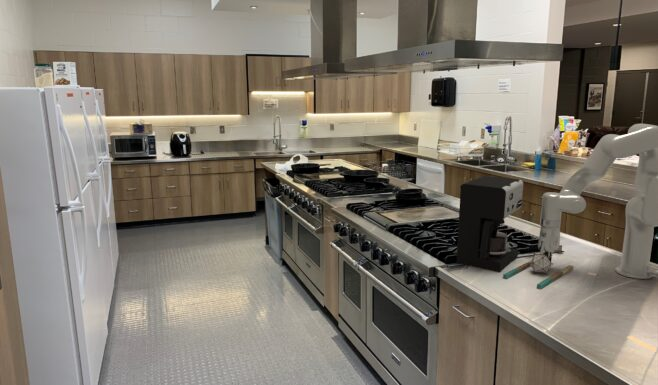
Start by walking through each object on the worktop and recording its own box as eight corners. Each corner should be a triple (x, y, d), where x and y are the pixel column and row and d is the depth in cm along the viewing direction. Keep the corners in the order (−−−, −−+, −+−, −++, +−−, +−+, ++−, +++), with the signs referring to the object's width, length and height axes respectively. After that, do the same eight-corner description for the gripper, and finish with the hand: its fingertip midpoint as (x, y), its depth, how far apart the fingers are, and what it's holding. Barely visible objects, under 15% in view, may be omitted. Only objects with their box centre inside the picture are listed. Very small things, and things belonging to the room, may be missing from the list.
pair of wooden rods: (572, 269, 199) (573, 265, 199) (540, 289, 179) (541, 285, 179) (536, 260, 210) (537, 257, 209) (502, 278, 190) (503, 274, 190)
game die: (540, 279, 197) (554, 259, 198) (546, 280, 189) (560, 259, 190) (521, 267, 199) (534, 247, 200) (526, 267, 191) (540, 246, 191)
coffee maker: (498, 275, 192) (504, 189, 185) (451, 265, 204) (456, 184, 197) (519, 257, 214) (525, 179, 207) (476, 248, 226) (480, 174, 218)
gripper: (551, 228, 188) (547, 272, 191) (567, 221, 197) (563, 264, 201) (532, 224, 193) (528, 267, 197) (549, 218, 203) (545, 259, 207)
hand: (546, 265), depth 199 cm, fingers closed
